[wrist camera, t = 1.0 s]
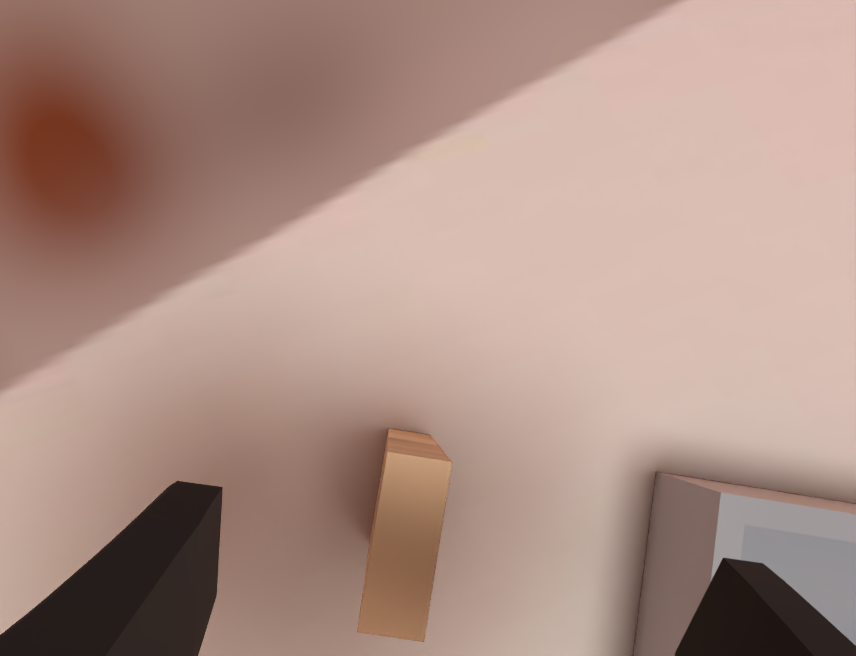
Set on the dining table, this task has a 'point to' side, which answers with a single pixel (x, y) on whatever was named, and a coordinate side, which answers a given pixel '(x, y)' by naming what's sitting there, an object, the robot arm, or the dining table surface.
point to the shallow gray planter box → (741, 552)
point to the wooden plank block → (405, 537)
